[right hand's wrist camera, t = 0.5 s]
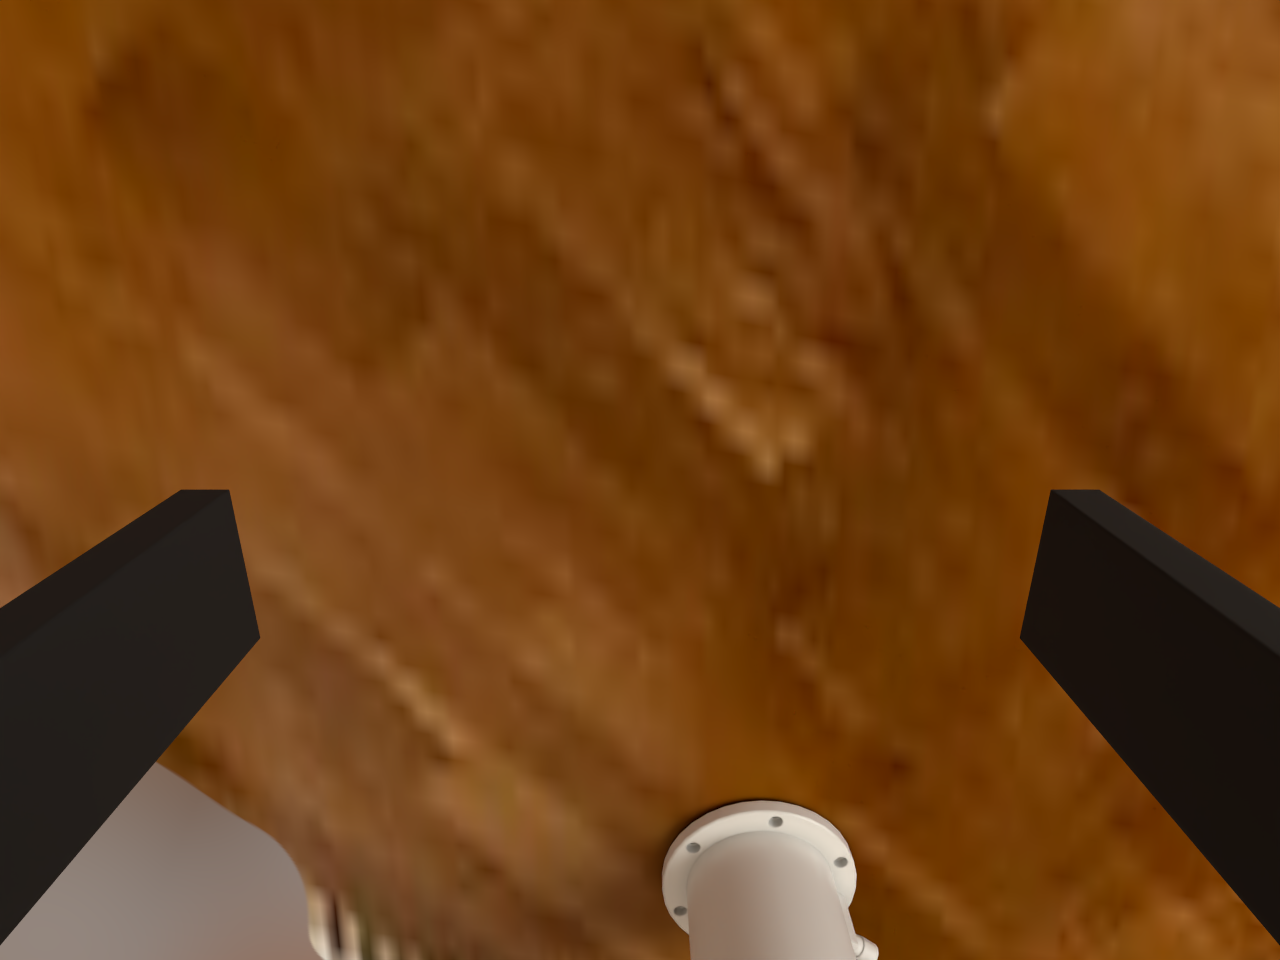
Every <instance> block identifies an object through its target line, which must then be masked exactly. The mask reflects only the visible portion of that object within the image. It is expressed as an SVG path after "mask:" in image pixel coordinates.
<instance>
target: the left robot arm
mask: <svg viewBox="0 0 1280 960" xmlns="http://www.w3.org/2000/svg"><path fill="white" fill-rule="evenodd" d="M855 889H856V870H855V865H854V860H853V858H852V855H851V852H850V849H849V846H848V844H847V842H846V841H845V839H844V838H843V836H842V835H841V833H840V832H839V831H838V830H837V829H836V828H835V827H834V826H833V825H832V824H831V823H830V822H829V821H828V820H826V819H824V818H823V817H821V816H820V815H818V814H817V813H815V812H813V811H810V810H808V809H805V808H803V807H800V806H798V805H793V804H789V803H784V802H778V801H762V800H761V801H749V802H741V803H737V804H732V805H728V806H724V807H722V808H719V809H717V810H714V811H712V812H709V813H707V814H705V815H704V816H702V817H700V818H699V819H697V820H696V821H694V822H692V823H691V824H690V825H689V826H688V827H687V828H686V829H684V830H683V831H682V832H681V833H680V834H679V835H678V837H677V838H676V839H675V841H674V842H673V843H672V845H671V846H670V848H669V850H668V853H667V855H666V857H665V859H664V865H663V870H662V891H663V896H664V901H665V905H666V907H667V909H668V912H669V914H670V915H671V917H672V918H673V919H674V921H675V922H676V923H677V924H678V926H679V927H680V928H681V929H683V930H684V931H685V932H686V933H687V934H689V939H690V954H691V960H856V959H857V960H877V958H878V955H879V953H878V948H877V946H876V944H874V943H873V942H871V941H869V940H867V939H866V938H864V937H862V936H860V935H857V934H855V931H854V928H853V924H852V921H851V917H850V914H849V910H848V907H849V905H850V903H851V902H852V899H853V895H854V892H855Z"/></svg>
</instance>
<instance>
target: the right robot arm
mask: <svg viewBox="0 0 1280 960" xmlns="http://www.w3.org/2000/svg"><path fill="white" fill-rule="evenodd" d="M259 639H260V635H259V630H258V625H257V620H256V616H255V611H254V606H253V601H252V597H251V592H250V587H249V582H248V577H247V573H246V568H245V563H244V558H243V554H242V549H241V544H240V539H239V535H238V530H237V525H236V520H235V516H234V511H233V506H232V501H231V497H230V492H229V490H180V491H178V492H177V493H175V494H174V495H172V496H171V497H169V498H168V499H166V500H165V501H163V502H162V503H160V504H159V505H157V506H156V507H154V508H153V509H151V510H149V511H148V512H146V513H145V514H143V515H142V516H140V517H139V518H137V519H136V520H134V521H133V522H131V523H130V524H128V525H127V526H125V527H124V528H122V529H120V530H119V531H117V532H116V533H114V534H113V535H111V536H110V537H108V538H107V539H105V540H104V541H102V542H101V543H99V544H98V545H96V546H95V547H93V548H91V549H90V550H88V551H87V552H85V553H84V554H82V555H81V556H79V557H78V558H76V559H75V560H73V561H72V562H70V563H69V564H67V565H66V566H64V567H62V568H61V569H59V570H58V571H56V572H55V573H53V574H52V575H50V576H49V577H47V578H46V579H44V580H43V581H41V582H40V583H38V584H37V585H35V586H34V587H32V588H30V589H29V590H27V591H26V592H24V593H23V594H21V595H20V596H18V597H17V598H15V599H14V600H12V601H11V602H9V603H8V604H6V605H5V606H3V607H1V608H0V945H1V944H2V943H3V941H4V940H5V939H6V938H7V937H8V935H9V934H10V933H11V932H12V931H13V930H14V928H15V927H16V926H17V925H18V924H19V922H20V921H21V920H22V919H23V918H24V917H25V915H26V914H27V913H28V912H29V911H30V909H31V908H32V907H33V906H34V905H35V903H36V902H37V901H38V900H39V899H40V898H41V896H42V895H43V894H44V893H45V892H46V891H47V889H48V888H49V887H50V886H51V885H52V883H53V882H54V881H55V880H56V879H57V877H58V876H59V875H60V874H61V873H62V872H63V870H64V869H65V868H66V867H67V866H68V865H69V863H70V862H71V861H72V860H73V859H74V857H75V856H76V855H77V854H78V853H79V852H80V850H81V849H82V848H83V847H84V846H85V844H86V843H87V842H88V841H89V840H90V838H91V837H92V836H93V835H94V834H95V833H96V831H97V830H98V829H99V828H100V827H101V825H102V824H103V823H104V822H105V821H106V820H107V818H108V817H109V816H110V815H111V814H112V813H113V811H114V810H115V809H116V808H117V807H118V805H119V804H120V803H121V802H122V801H123V800H124V798H125V797H126V796H127V795H128V794H129V792H130V791H131V790H132V789H133V788H134V786H135V785H136V784H137V783H138V782H139V781H140V779H141V778H142V777H143V776H144V775H145V774H146V772H147V771H148V770H149V769H150V768H151V766H152V765H153V764H154V763H155V762H156V761H157V759H158V758H159V757H160V756H161V755H162V753H163V752H164V751H165V750H166V749H167V748H168V746H169V745H170V744H171V743H172V742H173V740H174V739H175V738H176V737H177V736H178V735H179V733H180V732H181V731H182V730H183V729H184V727H185V726H186V725H187V724H188V723H189V722H190V720H191V719H192V718H193V717H194V716H195V714H196V713H197V712H198V711H199V710H200V709H201V707H202V706H203V705H204V704H205V703H206V701H207V700H208V699H209V698H210V697H211V695H212V694H213V693H214V692H215V691H216V690H217V688H218V687H219V686H220V685H221V684H222V682H223V681H224V680H225V679H226V678H227V677H228V675H229V674H230V673H231V672H232V671H233V669H234V668H235V667H236V666H237V665H238V664H239V662H240V661H241V660H242V659H243V658H244V656H245V655H246V654H247V653H248V652H249V651H250V649H251V648H252V647H253V646H254V645H255V643H256V642H257V641H258V640H259ZM1020 639H1021V640H1022V641H1023V642H1024V643H1025V645H1026V646H1027V647H1028V648H1029V649H1030V651H1031V652H1032V653H1033V654H1034V655H1035V656H1036V658H1037V659H1038V660H1039V661H1040V662H1041V664H1042V665H1043V666H1044V667H1045V668H1046V669H1047V671H1048V672H1049V673H1050V674H1051V675H1052V677H1053V678H1054V679H1055V680H1056V681H1057V682H1058V684H1059V685H1060V686H1061V687H1062V688H1063V690H1064V691H1065V692H1066V693H1067V694H1068V696H1069V697H1070V698H1071V699H1072V700H1073V701H1074V703H1075V704H1076V705H1077V706H1078V707H1079V709H1080V710H1081V711H1082V712H1083V713H1084V714H1085V716H1086V717H1087V718H1088V719H1089V720H1090V722H1091V723H1092V724H1093V725H1094V726H1095V727H1096V729H1097V730H1098V731H1099V732H1100V733H1101V735H1102V736H1103V737H1104V738H1105V739H1106V740H1107V742H1108V743H1109V744H1110V745H1111V746H1112V748H1113V749H1114V750H1115V751H1116V752H1117V753H1118V755H1119V756H1120V757H1121V758H1122V759H1123V761H1124V762H1125V763H1126V764H1127V765H1128V766H1129V768H1130V769H1131V770H1132V771H1133V772H1134V774H1135V775H1136V776H1137V777H1138V778H1139V779H1140V781H1141V782H1142V783H1143V784H1144V785H1145V787H1146V788H1147V789H1148V790H1149V791H1150V792H1151V794H1152V795H1153V796H1154V797H1155V798H1156V800H1157V801H1158V802H1159V803H1160V804H1161V805H1162V807H1163V808H1164V809H1165V810H1166V811H1167V813H1168V814H1169V815H1170V816H1171V817H1172V818H1173V820H1174V821H1175V822H1176V823H1177V824H1178V826H1179V827H1180V828H1181V829H1182V830H1183V831H1184V833H1185V834H1186V835H1187V836H1188V837H1189V839H1190V840H1191V841H1192V842H1193V843H1194V844H1195V846H1196V847H1197V848H1198V849H1199V850H1200V852H1201V853H1202V854H1203V855H1204V856H1205V857H1206V859H1207V860H1208V861H1209V862H1210V863H1211V865H1212V866H1213V867H1214V868H1215V869H1216V870H1217V872H1218V873H1219V874H1220V875H1221V876H1222V878H1223V879H1224V880H1225V881H1226V882H1227V883H1228V885H1229V886H1230V887H1231V888H1232V889H1233V891H1234V892H1235V893H1236V894H1237V895H1238V896H1239V898H1240V899H1241V900H1242V901H1243V902H1244V904H1245V905H1246V906H1247V907H1248V908H1249V909H1250V911H1251V912H1252V913H1253V914H1254V915H1255V917H1256V918H1257V919H1258V920H1259V921H1260V922H1261V924H1262V925H1263V926H1264V927H1265V928H1266V930H1267V931H1268V932H1269V933H1270V934H1271V935H1272V937H1273V938H1274V939H1275V940H1276V941H1277V943H1278V944H1279V945H1280V608H1279V607H1277V606H1275V605H1274V604H1272V603H1271V602H1269V601H1268V600H1266V599H1265V598H1263V597H1262V596H1260V595H1259V594H1257V593H1256V592H1254V591H1253V590H1251V589H1250V588H1248V587H1246V586H1245V585H1243V584H1242V583H1240V582H1239V581H1237V580H1236V579H1234V578H1233V577H1231V576H1230V575H1228V574H1227V573H1225V572H1224V571H1222V570H1221V569H1219V568H1218V567H1216V566H1214V565H1213V564H1211V563H1210V562H1208V561H1207V560H1205V559H1204V558H1202V557H1201V556H1199V555H1198V554H1196V553H1195V552H1193V551H1192V550H1190V549H1189V548H1187V547H1185V546H1184V545H1182V544H1181V543H1179V542H1178V541H1176V540H1175V539H1173V538H1172V537H1170V536H1169V535H1167V534H1166V533H1164V532H1163V531H1161V530H1160V529H1158V528H1156V527H1155V526H1153V525H1152V524H1150V523H1149V522H1147V521H1146V520H1144V519H1143V518H1141V517H1140V516H1138V515H1137V514H1135V513H1134V512H1132V511H1131V510H1129V509H1127V508H1126V507H1124V506H1123V505H1121V504H1120V503H1118V502H1117V501H1115V500H1114V499H1112V498H1111V497H1109V496H1108V495H1106V494H1105V493H1103V492H1102V491H1100V490H1051V492H1050V497H1049V501H1048V506H1047V511H1046V516H1045V520H1044V525H1043V530H1042V535H1041V539H1040V544H1039V549H1038V554H1037V558H1036V563H1035V568H1034V573H1033V577H1032V582H1031V587H1030V592H1029V596H1028V601H1027V606H1026V611H1025V616H1024V620H1023V625H1022V630H1021V635H1020Z"/></svg>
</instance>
